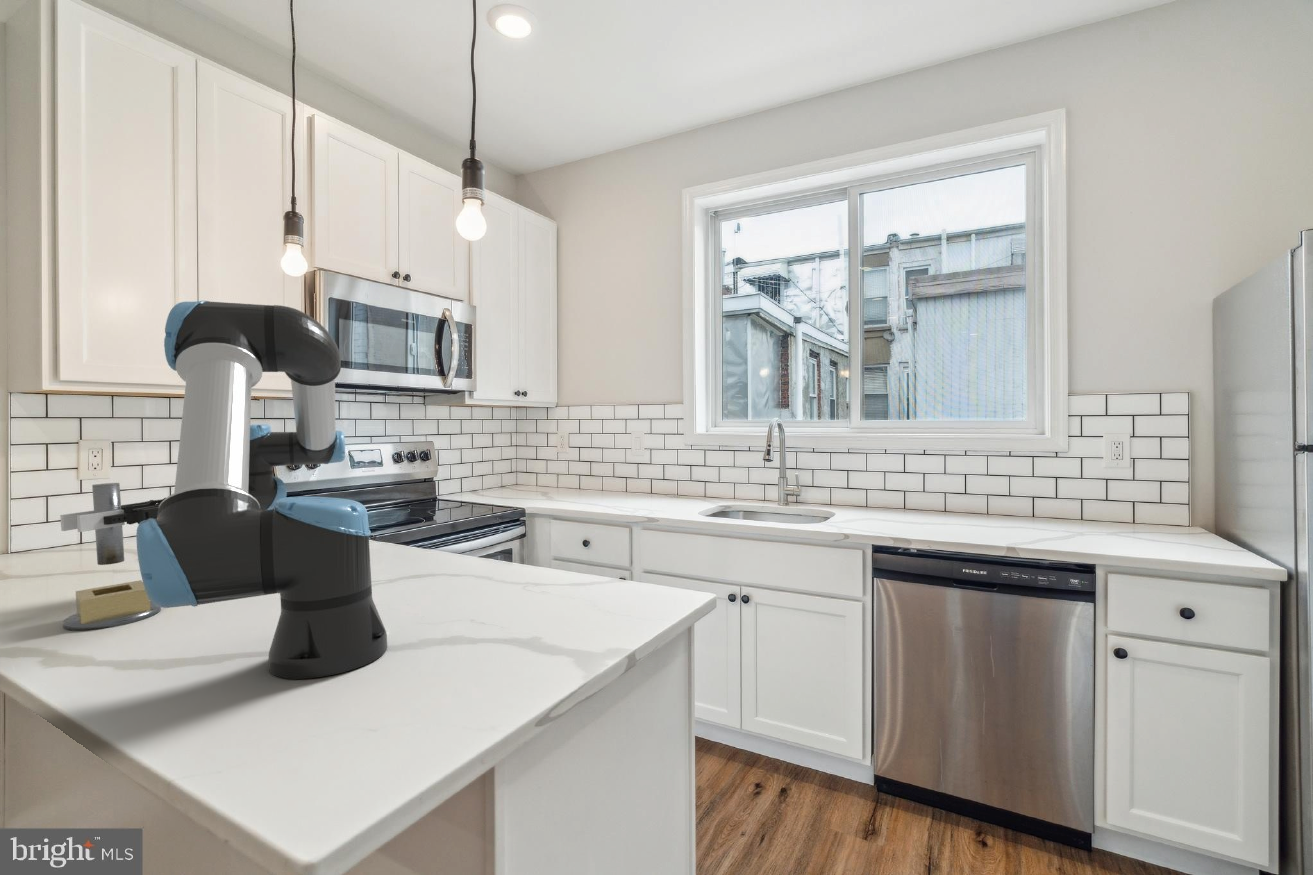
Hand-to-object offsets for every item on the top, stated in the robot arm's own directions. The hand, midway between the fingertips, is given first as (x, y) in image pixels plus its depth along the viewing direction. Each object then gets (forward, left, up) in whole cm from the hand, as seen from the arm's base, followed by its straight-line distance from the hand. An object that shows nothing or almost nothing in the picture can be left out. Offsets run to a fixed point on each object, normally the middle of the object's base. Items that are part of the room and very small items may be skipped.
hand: (70, 523), depth 104 cm
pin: (+2, -5, -8) cm, 10 cm away
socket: (+2, -5, -18) cm, 19 cm away
